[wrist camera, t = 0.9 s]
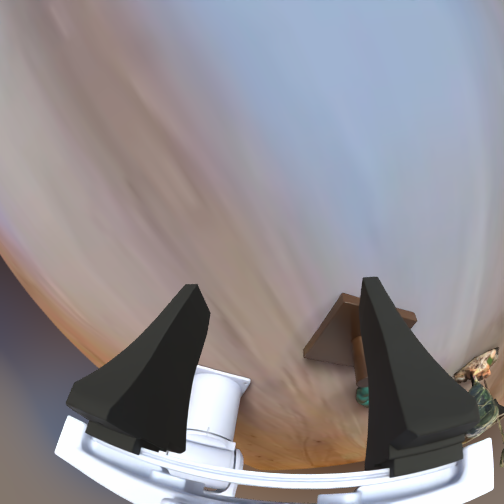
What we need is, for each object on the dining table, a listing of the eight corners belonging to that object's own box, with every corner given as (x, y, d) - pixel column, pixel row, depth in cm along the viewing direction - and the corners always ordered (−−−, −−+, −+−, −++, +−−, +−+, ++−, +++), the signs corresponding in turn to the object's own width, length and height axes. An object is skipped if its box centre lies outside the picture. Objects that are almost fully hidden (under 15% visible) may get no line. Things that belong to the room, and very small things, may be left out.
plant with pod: (443, 367, 30) (468, 490, 13) (502, 339, 26) (540, 449, 10) (438, 389, 34) (456, 494, 17) (492, 365, 30) (519, 462, 13)
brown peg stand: (369, 361, 29) (376, 405, 24) (303, 349, 29) (302, 398, 24) (414, 312, 24) (431, 360, 19) (342, 292, 24) (351, 347, 19)
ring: (392, 400, 35) (394, 410, 34) (343, 396, 35) (344, 408, 33) (431, 368, 30) (434, 379, 28) (381, 361, 29) (384, 375, 28)
